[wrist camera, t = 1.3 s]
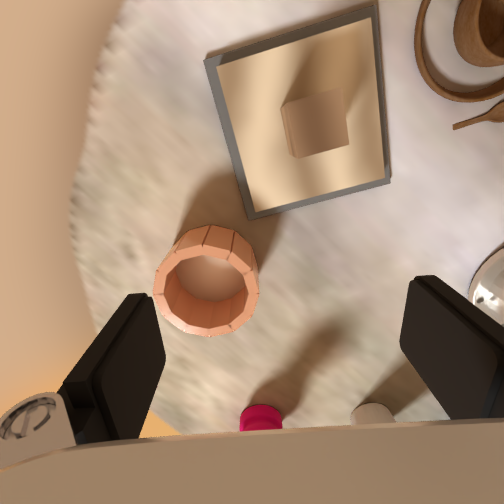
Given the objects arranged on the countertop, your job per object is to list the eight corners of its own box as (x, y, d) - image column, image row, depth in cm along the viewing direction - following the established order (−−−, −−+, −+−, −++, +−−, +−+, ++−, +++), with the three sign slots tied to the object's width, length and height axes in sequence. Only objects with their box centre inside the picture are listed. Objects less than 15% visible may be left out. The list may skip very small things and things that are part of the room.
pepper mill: (230, 407, 42) (214, 624, 23) (277, 396, 41) (300, 611, 23) (245, 439, 45) (242, 655, 26) (289, 429, 44) (319, 644, 25)
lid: (365, 22, 24) (402, -13, 18) (379, 176, 29) (412, 186, 23) (217, 69, 25) (208, 50, 19) (255, 209, 30) (256, 227, 24)
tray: (373, 7, 24) (376, 4, 23) (387, 182, 29) (390, 183, 29) (204, 61, 25) (202, 60, 25) (248, 219, 31) (248, 220, 30)
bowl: (243, 215, 31) (241, 233, 25) (265, 293, 34) (268, 323, 29) (156, 238, 32) (137, 261, 26) (187, 311, 35) (176, 344, 30)
